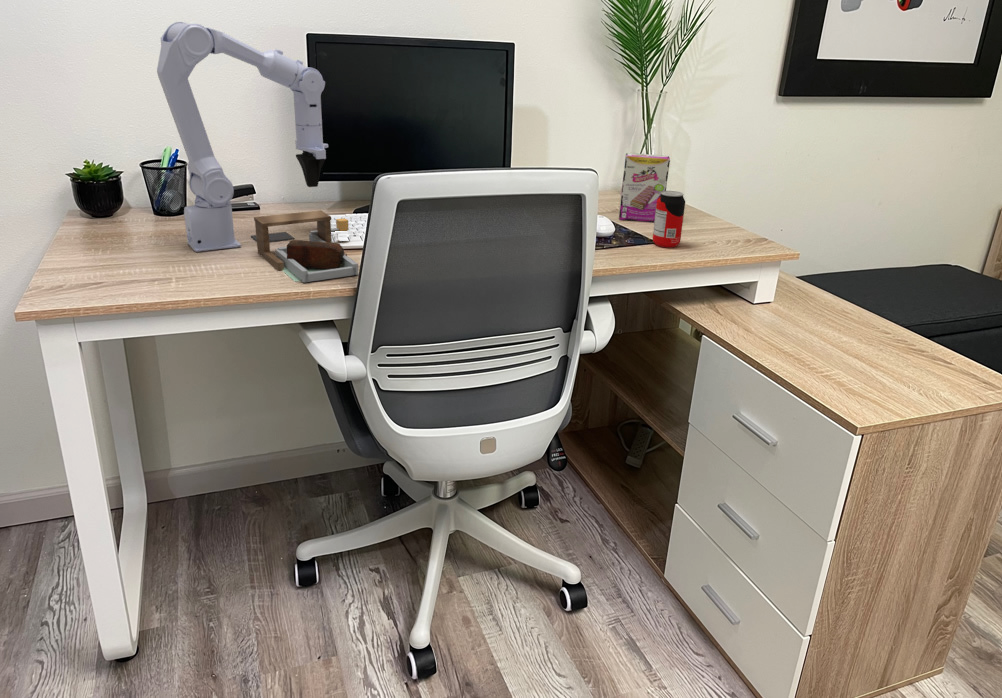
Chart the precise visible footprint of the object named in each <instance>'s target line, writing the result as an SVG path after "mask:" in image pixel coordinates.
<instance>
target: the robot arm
mask: <svg viewBox="0 0 1002 698" xmlns="http://www.w3.org/2000/svg"><path fill="white" fill-rule="evenodd" d="M166 28H167V29H165V31H164V32H163V34H162V36H161V37H160V52H159V56H158V62H157V68H156V72H157V77H158V80H159V82H160V85H161V88H162V91H163V94H164V96H165V99H166V103H167V104H168V109H169V110H170V113H171V115H172V118H173V120H174V123H175V124H174V125H175V126H176V129H177V132H178V136H179V138H180V141H181V143H182V146H183V148H184V151H185V154H186V157H187V160H188V163H187V170H188V173H189V178H188V179H189V181H188V185H189V189H190V191H191V193H193V194H194V196H195V199H194V204H193V205H189V206H185V207H184V208H183V209H184V210H183V215H184V223H185V224H184V225H185V231H186V243H187V244H188V246H189V247H190V248H191V249H192V250H193V251H194V252H196V253H198V252H206V251H214V250H222V249H231V248H240V247H242V244H241V243H240V242H239V241H238V240H237V239H236V238H235V237H236V236H235V230H234V229H235V228H234V220H233V209H232V199H233V197H234V193H235V191H234V190H235V189H234V184H233V182H232V181H231V180H230V179H229V178H228V177H227V175H226V174H225V173H224V170H223V168H222V165H221V164H220V163H219V161H218V160H217V158H216V157H215V154H214V151H213V148H212V146H211V142H210V140H209V137H208V134H207V130H206V127H205V125H204V122H203V119H202V117H201V113H200V111H199V107H198V105H197V102H196V99H195V98H196V97H195V95H194V93H193V90H192V87H191V85H190V82H189V81H190V80H189V77H190V75H191V73H192V72H193V71H194V69H195V67H196V66H197V65H198V64H199V63H201V62H202V61H203V60H204V59H206V58H207V57H208V56H209V55H212V54H213V55H219V54H225V55H227V56H229V57H232V58H234V59H237V60H239V61H241V62H244V63H245V64H249V65H250V66H251V65H252V66H254V67H256V68H257V70H258V72H259V74H260V76H261V77H263V78H265V79H267V80H269V81H272V82H274V83H277V84H279V85H280V86H283V87H286V88H288V89H290V90H291V91H292V93H293V106H294V107H293V108H294V110H293V111H294V124H295V139H296V140H295V143H294V144H295V150H299V151H302V152H301V153H298V154H297V153H296V154H295V158H296V159H297V162H299V166H300V167H301V170H302V173H303V177H304V181H305V183H306V186H307V187H308V188H316V187H317V188H318V187H319V181H320V175H321V171H322V168H323V165H324V163H325V161H326V159H327V155H326V154H327V152H326V151H327V150H326V149H327V148H329V144H328V143H324V139H323V137H324V135H323V119H322V98H321V97H322V96H321V95H322V92H323V91H324V89H325V86H326V81H325V80H324V78H323V75H322V73H320V71H319V70H318V69H316V68H314V67H308V66H304V61H301V60H300V59H297V60H295V59H292V58H290V57H288V56H286V55H284V51H282V50H281V49H277V48H275V49H274V50H273V49H268V50H266V51H261V50H259V49H257V48H254V47H253V46H251V45H249V44H246V43H245V42H243V41H240V40H239V39H236V38H234V37H233V36H230V35H229V34H227V33H225V32H222V31H219V30H216V29H214V28H210V27H205V26H204V25H202V24H200V23H195V22H194V23H187V22H182V21H176V22H173V23H171V24H170V25H168V26H167V27H166Z"/></svg>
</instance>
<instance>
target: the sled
mask: <svg viewBox="0 0 1002 698" xmlns="http://www.w3.org/2000/svg"><path fill="white" fill-rule="evenodd" d="M335 223H336V227H334V228H331V232H335V231H347V230H349V220H348V219H346V218H345V217H344V218H336V219H335ZM349 231H350V230H349ZM309 232H310V233H308V239H309V240H308V241H313V242H325V241H324V240H322V239H321V238H319V237H318V231H317V230H310V231H309ZM275 256H276V257H278V258H279V259H280V260H281V261H282V262H284V267H285V268H287V269H288V270H289V271H290V272H291V273H292V274H294V275H295V276H296V277H297V278H298V279H300V280H301V281H300V282H302V283H309V282H317V281H323V280H330V279H337V278H344V277H351V276H358V275H359V273H358V271H359V264H358V263H357V262H356V261H355V260H354V259H352V258H350V257H348V255H347V256H346V255H344V256H343V264H342V265H341V267H343V268H336V269H329V270H322V271H315V272H308V270H306V269H305V268H304V267H302V266H301V265H300V264H299V263H297V262H296V261H295V260H294V259H287V246H281V247H277V249H275Z"/></svg>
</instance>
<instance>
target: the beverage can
mask: <svg viewBox="0 0 1002 698" xmlns="http://www.w3.org/2000/svg"><path fill="white" fill-rule="evenodd" d="M685 209H686V200H685V197H684V193H683V192H681V191H675V190H666V191H662V192H661V194H660V196H659V197H658V199H657V204H656V213H655V221H654V222H653V223H654V224H653V231H652V241H653V243H654V244H655V245H656V246H657V247H660V248H668V249H669V248H670V249H671V248H676V247H677V246H678V245H679V244H680V243H681V240H682V231H683V223H684V216H685Z"/></svg>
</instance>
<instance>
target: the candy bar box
mask: <svg viewBox="0 0 1002 698" xmlns="http://www.w3.org/2000/svg"><path fill="white" fill-rule="evenodd" d="M670 162H671V159H670V155H662V154H660V155H659V154H647V153H646V154H645V153H636V152H634V153H633V152H626V153H625V155H624V164H623V165H624V167H623V174H622V183H621V193H620V202H619V211H618V212H619V213H618V217H619V218H618V220H619V221H633V222H635V221H636V222H647V223H654V221H655V213H656V204H657V199H658V197H659V196H660V194H661V192H662V191H667V187H668V177H669V171H670V170H669V169H670V164H671V163H670Z"/></svg>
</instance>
